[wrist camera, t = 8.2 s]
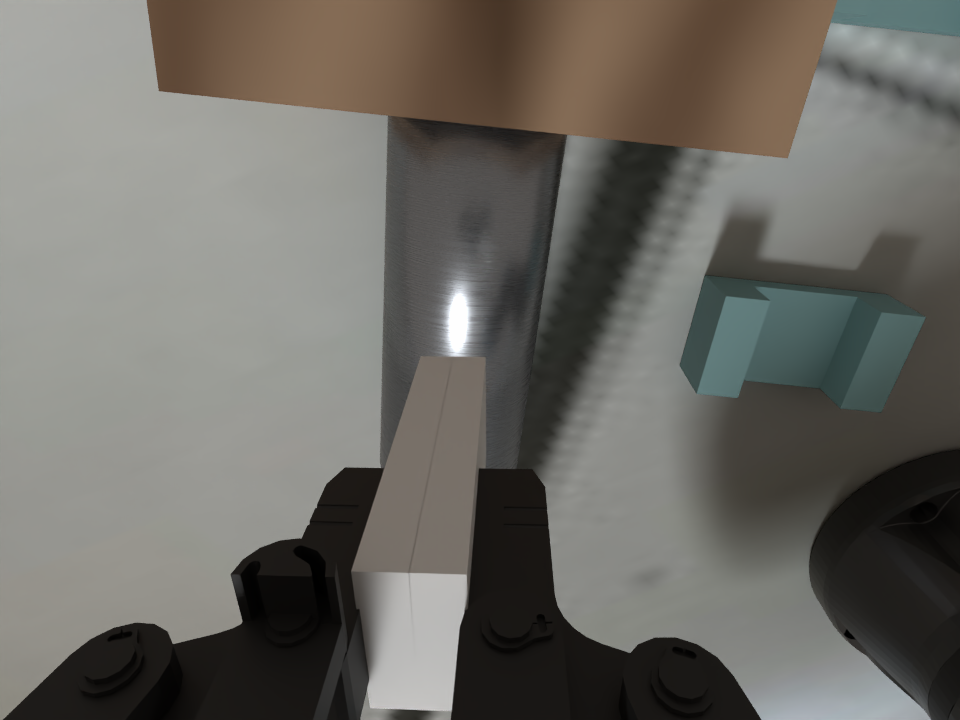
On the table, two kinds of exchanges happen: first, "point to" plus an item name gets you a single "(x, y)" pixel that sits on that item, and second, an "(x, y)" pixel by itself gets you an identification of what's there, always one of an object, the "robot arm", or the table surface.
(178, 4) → the brown wooden arched block
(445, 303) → the steel axle
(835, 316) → the v-blocks
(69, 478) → the table surface
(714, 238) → the table surface
